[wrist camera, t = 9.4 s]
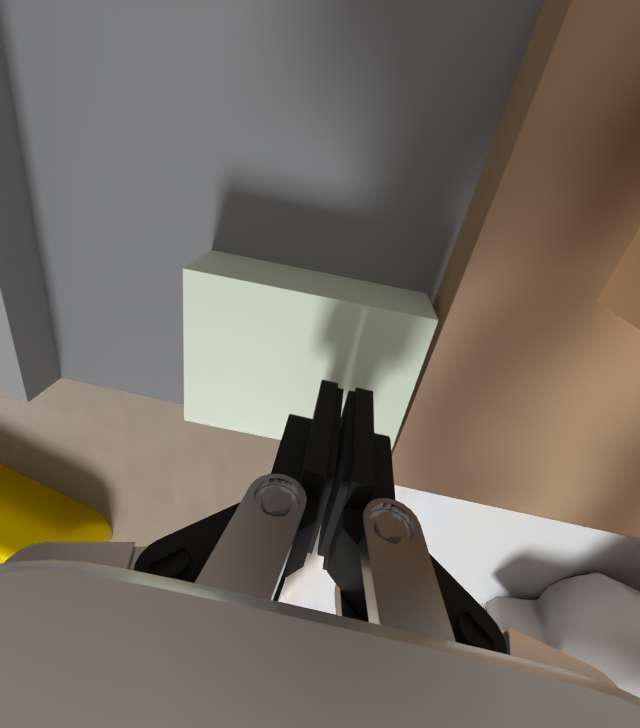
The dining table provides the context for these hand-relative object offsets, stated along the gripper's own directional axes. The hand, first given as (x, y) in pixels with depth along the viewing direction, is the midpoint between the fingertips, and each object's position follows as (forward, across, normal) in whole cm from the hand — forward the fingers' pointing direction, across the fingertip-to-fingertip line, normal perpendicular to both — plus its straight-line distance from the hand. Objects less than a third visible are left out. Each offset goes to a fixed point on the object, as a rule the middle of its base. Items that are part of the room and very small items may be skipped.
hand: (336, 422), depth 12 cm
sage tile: (+4, +2, -1) cm, 4 cm away
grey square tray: (+4, +5, -4) cm, 8 cm away
